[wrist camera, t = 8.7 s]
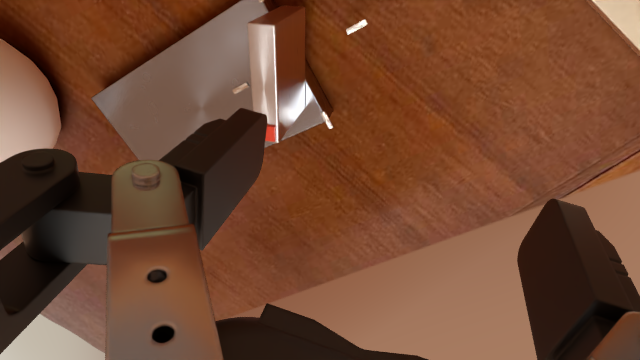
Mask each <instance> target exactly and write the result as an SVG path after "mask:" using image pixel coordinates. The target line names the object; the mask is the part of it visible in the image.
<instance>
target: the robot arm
mask: <svg viewBox="0 0 640 360" xmlns="http://www.w3.org/2000/svg"><path fill="white" fill-rule="evenodd" d="M266 130H267V116H266V114H262V113H259V112H255V111H252V110H248V109H245V108H240V109H238V110H237V111H236V112H235V113H234V114H233V115H231V116H230V117H229V118H228V119H227V120H223V119H217V120H214V121H211V122H208V123H205V124H203V125H202V126H201V127H200V128H198V129H197V130H196V131H195V132H194V134H193V133H192V134H191V135H190V136H188V137H187V138H186V140H183V141H182V142H181V143H180V144H178V145H177V146H176V147H175V148H173V149H172V150H171V151H170V152H168V153H167V154H166V155H165V156H164V157H162V158H161V159H160V160H159V161H158V160H137V161H133V162H129V163H127V164H124V165H122V166H120V167H119V168H118V169H116V170H115V172H114V173H113V175H105V174H95V173H84V172H78V167H77V161H76V159H75V157H74V156H73V155H72V154H70V153H68V152H66V151H63V150H59V149H48V148H44V149H33V150H28V151H24V152H21V153H18V154H15V155H13V156H11V157H9V158H8V159H6V160H4V161H2V162H1V163H0V250H1V249H2V248H4V247H5V246H6V245H7V244H9V243H10V242H11V241H13V240H14V239H15V238H16V237H18V236H19V235H20V234H21V235H22V238H23V242H22V243H21V244H20V245H18V246H17V247H16V248H15V249H13V250H12V251H11V252H10V253H9V254H7V255H6V256H5V257H4V258H2V259H1V260H0V354H1V353H2V352H3V351H4V350H5V349H6V348H7V347H8V346H9V344H11V343H12V341H13V340H14V339H15V338H16V337H17V336H18V335H19V334H20V333H21V332H22V331H23V330H24V329H25V328H26V327H27V326H28V325H29V324H30V323H31V322H32V321H33V320H34V319H35V318H36V317H37V315H39V314H40V313H41V312H42V310H43V309H44V308H45V307H46V306H47V305H48V304H49V303H50V302H51V301H52V300H53V299H54V298H55V297H56V296H57V295H58V294H59V293H60V292H61V291H62V290H63V289H64V288H65V287H66V286H67V285H68V284H69V283H70V282H71V281H72V279H73V278H74V277H75V276H76V275H77V274H78V273H79V272H80V271H81V270H82V269H83V268H84V267H85V266H86V265H87V264H97V265H107V283H106V347H105V360H428V359H425V358H422V357H419V356H415V355H406V354H396V353H388V352H379V351H370V350H364V349H361V348H359V347H357V346H356V345H354V344H352V343H351V342H349V341H348V340H346V339H344V338H343V337H341V336H339V335H338V334H336V333H335V332H333V331H331V330H330V329H328V328H327V327H325V326H323V325H322V324H320V323H319V322H317V321H315V320H313V319H310V318H307V317H305V316H302V315H299V314H296V313H293V312H290V311H288V310H285V309H282V308H279V307H276V306H273V305H270V304H266V306H265V308H264V310H263V312H262V314H261V316H260V318H256V317H237V318H228V319H223V320H219V321H215V318H214V313H213V309H212V304H211V299H210V295H209V290H208V286H207V281H206V277H205V272H204V267H203V263H202V258H201V254H200V250H203V249H204V248H205V246H206V245H207V244H208V242H209V241H210V240H211V238H212V237H213V236H214V235H215V233H216V232H217V231H218V229H219V228H220V227H221V225H222V224H223V223H224V221H225V220H226V219H227V217H228V216H229V215H230V214H231V212H232V211H233V210H234V208H235V207H236V206H237V204H238V203H239V202H240V200H241V199H242V198H243V197H244V195H245V194H246V193H247V191H248V190H249V189H250V187H251V186H252V185H253V183H254V182H255V181H256V179H257V177H258V175H259V173H260V170H261V167H262V162H263V155H264V146H265V138H266ZM517 261H518V267H519V272H520V277H521V282H522V287H523V292H524V296H525V301H526V306H527V311H528V316H529V321H530V326H531V330H532V335H533V340H534V345H535V350H536V355H537V360H640V296H639V294H638V292H637V290H636V288H635V286H634V284H633V282H632V280H631V278H629V277H628V272H627V271H626V269H625V267H624V265H622V264H621V262H622V261H621V259H620V257H619V255H618V253H617V251H616V249H615V247H614V246H613V245H612V244H611V243H610V242H609V241H608V240H607V239H606V238H605V237H604V236H603V235H602V234H601V233H600V232H599V231H597V230H595V228H594V226H593V224H592V222H591V220H590V218H589V216H588V214H587V212H586V210H585V208H583V207H581V206H577V205H574V204H570V203H567V202H563V201H560V200H556V199H551V200H549V201H548V202H547V203H546V204H545V206H544V207H543V209H542V210H541V212H540V214H539V216H538V217H537V219H536V220H535V222H534V223H533V225H532V227H531V228H530V230H529V231H528V233H527V235H526V236H525V238H524V239H523V241H522V243H521V245H520V248H519V252H518V260H517Z"/></svg>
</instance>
